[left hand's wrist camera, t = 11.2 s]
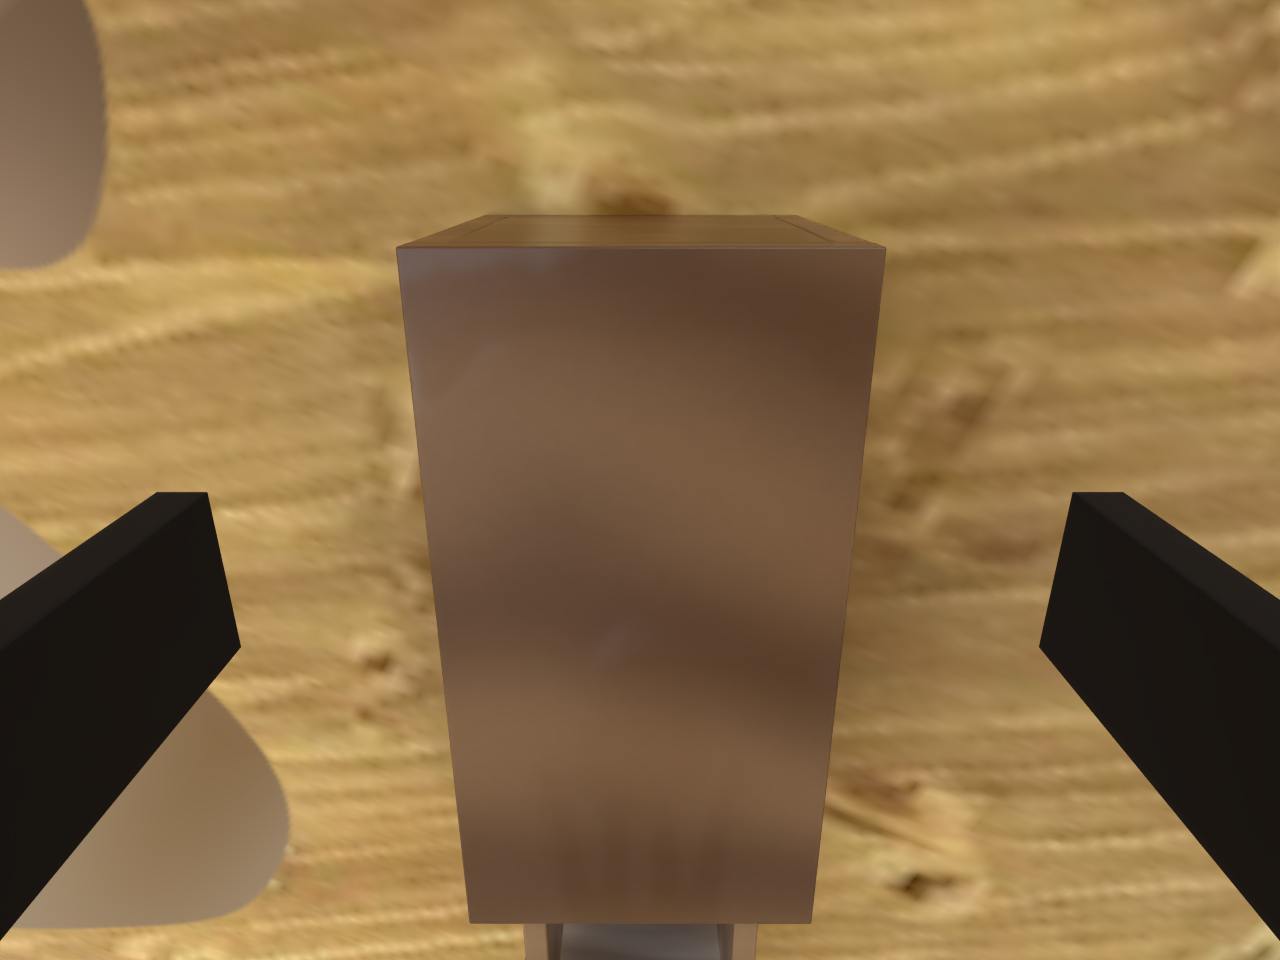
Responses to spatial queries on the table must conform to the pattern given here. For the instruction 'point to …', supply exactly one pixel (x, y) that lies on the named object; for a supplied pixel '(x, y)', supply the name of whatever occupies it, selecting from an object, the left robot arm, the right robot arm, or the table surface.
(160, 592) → the left robot arm
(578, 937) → the drawer
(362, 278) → the table surface
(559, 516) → the cabinet
